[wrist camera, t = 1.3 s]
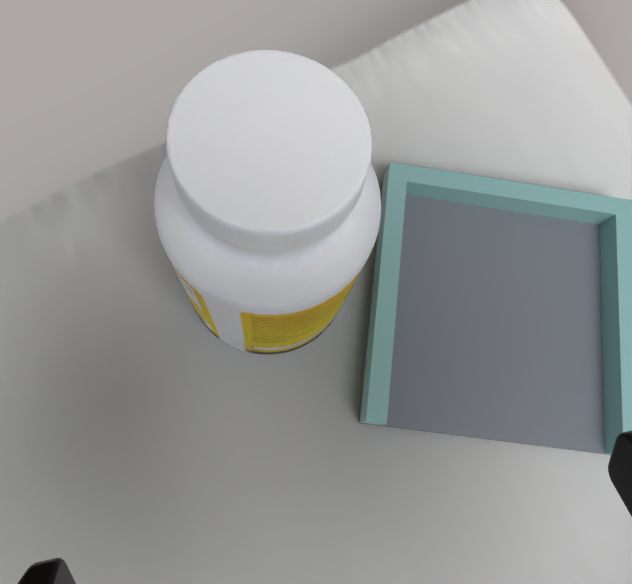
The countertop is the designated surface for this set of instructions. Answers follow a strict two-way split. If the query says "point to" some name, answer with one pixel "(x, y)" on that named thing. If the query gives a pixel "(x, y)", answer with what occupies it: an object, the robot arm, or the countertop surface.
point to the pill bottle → (267, 197)
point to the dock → (500, 311)
